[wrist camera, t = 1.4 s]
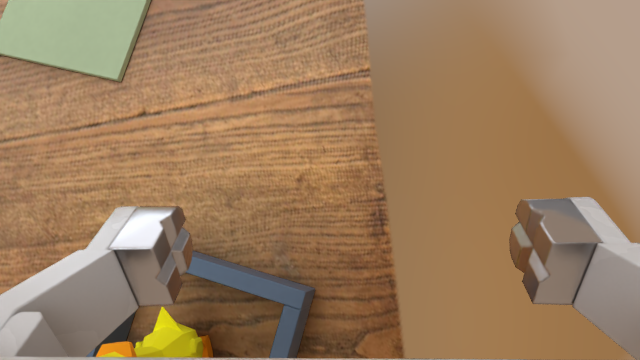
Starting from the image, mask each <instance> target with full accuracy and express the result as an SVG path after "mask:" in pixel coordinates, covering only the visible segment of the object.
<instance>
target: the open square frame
mask: <svg viewBox="0 0 640 360" xmlns="http://www.w3.org/2000/svg"><path fill="white" fill-rule="evenodd" d="M186 273H189V274H192V275H195V276H198V277H201V278H204V279H207V280H210V281H213V282H216V283H220V284H223V285H226V286H229V287H232V288H235V289H238V290H241V291H244V292H247V293H250V294H254V295H257V296H260V297H263V298H266V299H269V300H272V301H275V302H278V303H281V304H284V307H283V311H282V314H281V318H280V321H279V325H278V328H277V332H276V335H275V339H274V342H273V346H272V349H271V353H270V356H269V358H296V357H297V354H298V350H299V346H300V343H301V339H302V335H303V332H304V328H305V325H306V321H307V317H308V314H309V310H310V307H311V306H310V305H311V303H312V300H313V296H314V292H315V288H312V287H309V286H306V285H302V284H299V283H296V282H293V281H289V280H286V279H283V278H280V277H276V276H273V275H270V274H267V273H264V272H260V271H257V270H254V269H251V268H247V267H244V266H241V265H238V264H235V263H231V262H228V261H225V260H222V259H218V258H215V257H212V256H209V255H206V254H202V253H199V252H196V251H193V253H192V261H191V264H190V266H189V269H188V270H187V271H186ZM135 312H136V311H135ZM135 312H134V313H133V314H132V315H131V316H129V317H128V318H127V319H126V320H125V321H124V322H123V323H122V324H121V325H120V326H119V327H117V328H116V329H115V330H114V331H113V332H112V333H111V334H110V335H109V336H108V337H107V338H105V339H104V340H103V341H102V342H101V343H100V344H99V345H98V346H97V347H96V348H95V349H93V350H92V351H91V352H90V353H89V354H88V355H87V356H86V357H96V355H97V353H98V351H99V349H100V348H101V346H102V345H103V344H108V343H115V342H125V341H126V339H127V336H128V333H129V330H130V327H131V324H132V321H133V318H134V315H135Z"/></svg>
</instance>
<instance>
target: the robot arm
mask: <svg viewBox="0 0 640 360" xmlns="http://www.w3.org/2000/svg"><path fill="white" fill-rule="evenodd" d="M515 214H516V216H517V217H518V220H519V221H520V222H518V224H516V225H515V226H514V227H513V228H512V229H511V234H510V253H511V257H512V260H513V262H514V264H515V267H516V268H518V269H519V270H521V271H522V272H523V273H524V277H523V281H522V282H523V284H524V286H525V288H526V290H527V292H528V294H529V296H530V299H531V301H532V303H533V304H560V305H573V308H575V309H576V310H577V311H578V312H580V313H581V314H582V315H583V316H584V317H586V318H587V319H588V320H589V321H590V322H592V323H593V324H594V325H595V326H596V327H598V328H599V329H600V330H601V331H602V332H604V333H605V334H606V335H607V336H608V337H610V338H611V339H612V340H613V341H614V342H616V343H617V344H618V345H619V346H621V347H622V348H623V349H624V350H625V351H626V352H628V353H629V354H630V355H631V356H633V357H634V358H635V359H636V360H640V243H631V242H630V241H629V240H628V239H627V237H626V236H625V235H624V234H623V233H622V231H621V230H620V229H619V228H618V227H617V225H616V224H615V223H614V222H613V221H612V220H611V218H610V217H609V216H608V215H607V214H606V213H605V211H604V210H603V209H602V208H601V207H600V205H599V204H598V203H597V202H596V201H595V200H594V199H592V198H590V197H576V198H565V199H532V200H521V201H520V202H519V204H518V206H517V209H516V213H515ZM185 220H186V219H185V216H184V213H183V210H182V208H180V207H179V206H140V207H139V206H121V207H118V208H116V209H115V210H114V211H113V213H112V214H111V216H110V217H109V218H108V220H107V221H106V222H105V224H104V225H103V226H102V228H101V229H100V230H99V232H98V233H97V234H96V236H95V237H94V238H93V240H92V241H91V242H90V244H89V245H88V246H87V248H86V249H85V250H78V251H76V252H74V253H73V254H71V255H69V256H67V257H66V258H64V259H62V260H60V261H59V262H57V263H55V264H53V265H52V266H50V267H48V268H46V269H45V270H43V271H41V272H39V273H38V274H36V275H34V276H32V277H31V278H29V279H27V280H25V281H24V282H22V283H20V284H18V285H17V286H15V287H13V288H11V289H10V290H8V291H6V292H4V293H3V294H1V295H0V360H519V359H369V358H183V357H86V356H87V355H88V354H89V353H90V352H91V351H92V350H93V349H95V348H96V347H97V346H98V345H99V344H100V343H101V342H102V341H103V340H104V339H105V338H107V337H108V336H109V335H110V334H111V333H112V332H113V331H114V330H115V329H116V328H117V327H119V326H120V325H121V324H122V323H123V322H124V321H125V320H126V319H127V318H128V317H129V316H131V315H132V314H133V313H134V312H135V311H136V310H137V309H138V308H139V307H138V306H158V305H174V302H175V300H176V298H177V295H178V293H179V290H180V288H181V286H182V281H181V278H180V276H181V275H182V274H184V273H185V272H186V271H187V270H188V269H189V266H190V264H191V261H192V253H193V245H192V239H191V235H190V233H189V232H188V231H187V230H185V229H184V228H183V227H182V226H183V224H184V222H185ZM520 360H521V359H520ZM523 360H525V359H523Z"/></svg>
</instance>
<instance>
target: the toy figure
mask: <svg viewBox="0 0 640 360" xmlns="http://www.w3.org/2000/svg"><path fill="white" fill-rule="evenodd" d="M96 357H183V358H213V350H212V346H211V342H210V338H209V335H206V336H200V337H198V335H197V333H196V331H195V330H194V329H192V328H189V327H187V326H184V325H181V324H179V323H176V322H175V320H174V319H173V318H172V317H171V316H170V315H169V313H168V312H167V311H166V310H165V309H164V308H163V306H162V308H161V311H160V314H159V317H158V319H157V322H156V325H155V328H154V330H153V333H151V334H149V335H147V336H145V337H144V340H143V341H141V342H137V343H136V347H135V348H133V345H132V342H127V341H125V342H115V343H108V344H103V345H102V346H101V348H100V349H99V351H98V353H97V355H96Z"/></svg>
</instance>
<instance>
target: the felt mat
mask: <svg viewBox="0 0 640 360" xmlns="http://www.w3.org/2000/svg"><path fill="white" fill-rule="evenodd" d="M150 2H151V0H9V1H8V3H7V6H6V8H5V10H4V13H3V15H2V18H1V20H0V55H2V56H7V57H11V58H16V59H20V60H25V61H29V62H34V63H38V64H42V65H47V66H51V67H56V68H60V69H65V70H69V71H73V72H78V73H82V74H87V75H91V76H96V77H100V78H105V79H109V80H113V81H118V82H121V81H122V78H123V76H124V73H125V70H126V67H127V65H128V62H129V59H130V57H131V54H132V51H133V48H134V46H135V43H136V40H137V38H138V35H139V32H140V29H141V27H142V24H143V21H144V18H145V16H146V13H147V10H148V8H149V5H150Z"/></svg>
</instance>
